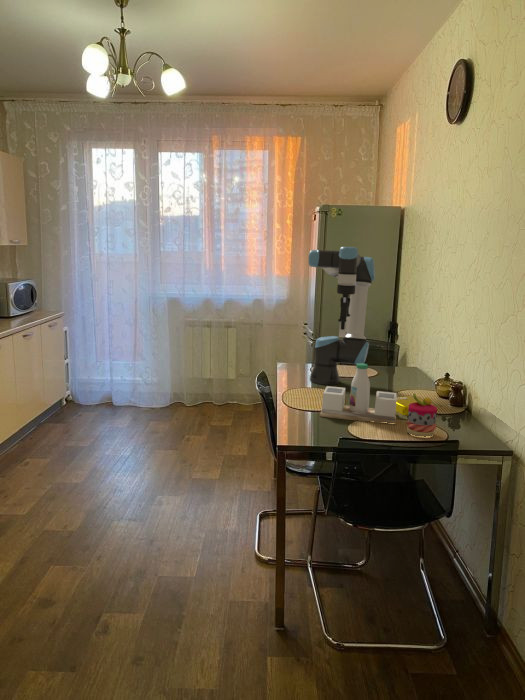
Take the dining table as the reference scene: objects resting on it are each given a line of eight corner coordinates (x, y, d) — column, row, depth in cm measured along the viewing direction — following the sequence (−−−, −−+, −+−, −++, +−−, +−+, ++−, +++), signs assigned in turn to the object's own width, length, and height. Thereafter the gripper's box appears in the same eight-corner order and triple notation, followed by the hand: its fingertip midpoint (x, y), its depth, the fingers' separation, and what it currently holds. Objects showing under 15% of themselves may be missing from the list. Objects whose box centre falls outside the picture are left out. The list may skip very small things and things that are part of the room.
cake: (429, 429, 205) (433, 392, 202) (439, 439, 194) (443, 399, 191) (402, 428, 204) (405, 391, 201) (410, 438, 194) (414, 399, 191)
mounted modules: (325, 404, 228) (326, 385, 226) (394, 411, 221) (396, 392, 220) (321, 412, 216) (323, 392, 215) (394, 420, 210) (396, 400, 208)
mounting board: (324, 406, 230) (325, 400, 229) (395, 414, 223) (396, 407, 222) (319, 416, 215) (320, 410, 215) (395, 424, 208) (396, 418, 208)
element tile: (404, 416, 221) (405, 405, 220) (385, 406, 235) (386, 396, 234) (434, 414, 225) (436, 404, 224) (414, 404, 239) (415, 394, 238)
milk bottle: (368, 410, 222) (372, 363, 218) (367, 415, 214) (371, 366, 211) (350, 407, 224) (353, 361, 220) (348, 412, 216) (351, 364, 213)
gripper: (339, 281, 234) (336, 328, 239) (335, 286, 211) (331, 338, 215) (356, 282, 233) (353, 329, 237) (354, 287, 209) (350, 340, 214)
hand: (343, 334), depth 226 cm, fingers open, 13 cm apart
